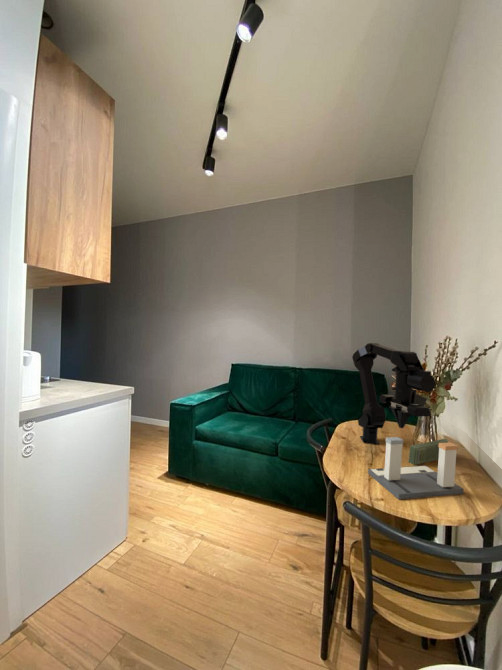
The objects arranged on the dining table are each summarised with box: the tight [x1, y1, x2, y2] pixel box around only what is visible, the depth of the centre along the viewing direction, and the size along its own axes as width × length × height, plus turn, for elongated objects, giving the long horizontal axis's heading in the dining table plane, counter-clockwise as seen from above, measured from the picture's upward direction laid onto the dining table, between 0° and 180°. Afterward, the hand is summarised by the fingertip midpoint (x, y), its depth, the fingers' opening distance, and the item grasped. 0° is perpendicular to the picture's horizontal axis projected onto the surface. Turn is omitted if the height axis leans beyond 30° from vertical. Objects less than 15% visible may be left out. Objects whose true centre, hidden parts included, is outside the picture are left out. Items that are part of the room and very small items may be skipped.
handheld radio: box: [408, 438, 449, 466], centre depth 101 cm, size 7×3×25 cm
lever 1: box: [384, 436, 404, 480], centre depth 82 cm, size 2×4×12 cm, turn 102°
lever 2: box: [437, 442, 459, 487], centre depth 80 cm, size 2×4×12 cm, turn 102°
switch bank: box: [367, 465, 465, 500], centre depth 84 cm, size 14×22×2 cm, turn 102°
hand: (401, 427), depth 98 cm, fingers closed
